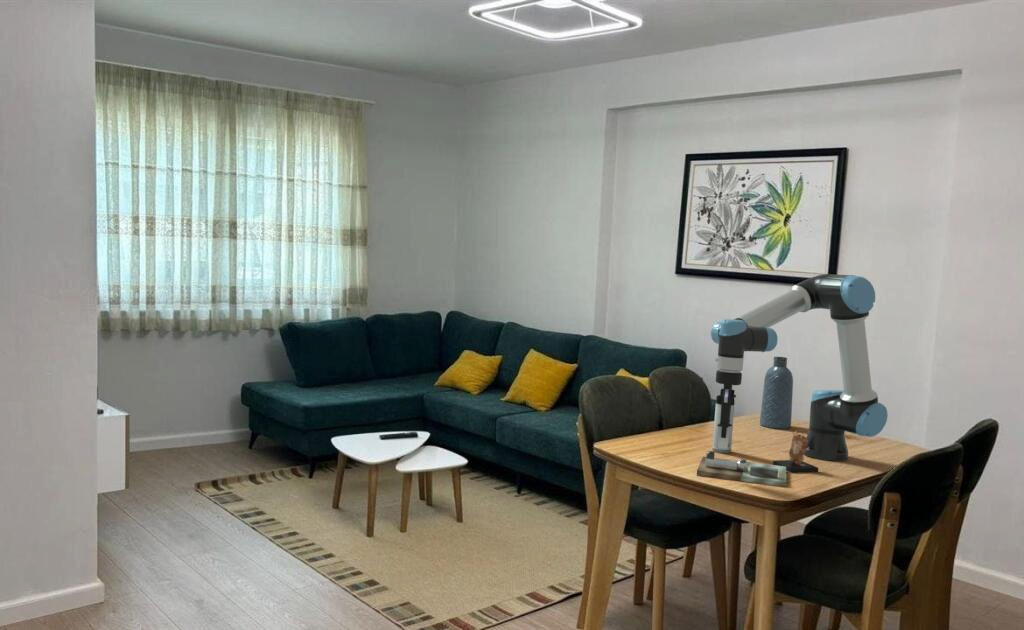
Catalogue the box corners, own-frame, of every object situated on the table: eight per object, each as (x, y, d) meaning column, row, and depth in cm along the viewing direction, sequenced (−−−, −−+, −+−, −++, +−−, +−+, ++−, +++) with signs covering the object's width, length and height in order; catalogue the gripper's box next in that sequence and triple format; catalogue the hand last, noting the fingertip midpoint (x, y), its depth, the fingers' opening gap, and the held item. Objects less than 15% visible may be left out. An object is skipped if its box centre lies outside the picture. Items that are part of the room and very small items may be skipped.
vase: (761, 427, 339) (767, 358, 336) (757, 422, 351) (763, 354, 348) (793, 430, 337) (798, 360, 335) (788, 424, 349) (793, 356, 346)
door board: (785, 471, 269) (786, 458, 269) (785, 486, 250) (786, 473, 250) (702, 460, 277) (703, 448, 277) (696, 475, 258) (697, 462, 258)
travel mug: (732, 454, 289) (736, 396, 287) (712, 452, 290) (716, 394, 289) (731, 450, 295) (735, 393, 294) (712, 448, 296) (716, 392, 295)
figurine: (818, 472, 271) (821, 435, 270) (790, 473, 268) (793, 435, 267) (798, 464, 280) (801, 428, 279) (772, 465, 277) (775, 428, 276)
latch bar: (748, 469, 262) (749, 455, 262) (747, 471, 258) (748, 457, 258) (706, 463, 266) (707, 450, 265) (705, 466, 262) (706, 452, 262)
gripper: (718, 367, 262) (711, 442, 264) (714, 371, 250) (708, 450, 251) (743, 369, 260) (736, 445, 261) (741, 374, 247) (734, 453, 249)
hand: (722, 447), depth 256 cm, fingers closed
